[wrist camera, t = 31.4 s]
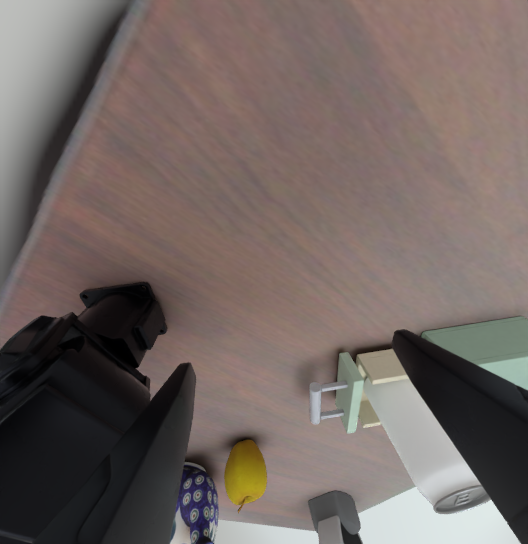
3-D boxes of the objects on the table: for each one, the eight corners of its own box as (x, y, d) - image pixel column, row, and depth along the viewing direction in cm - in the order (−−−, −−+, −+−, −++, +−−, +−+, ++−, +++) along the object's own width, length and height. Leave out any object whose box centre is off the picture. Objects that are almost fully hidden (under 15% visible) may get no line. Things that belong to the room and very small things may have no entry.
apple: (221, 451, 37) (217, 519, 30) (233, 430, 35) (232, 499, 27) (255, 454, 39) (259, 519, 32) (269, 434, 36) (276, 500, 29)
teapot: (178, 506, 45) (153, 646, 32) (107, 494, 40) (42, 656, 27) (254, 453, 38) (262, 603, 25) (182, 429, 33) (144, 605, 20)
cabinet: (404, 388, 34) (433, 427, 29) (422, 331, 28) (462, 367, 23) (488, 374, 35) (530, 410, 30) (521, 315, 29) (581, 347, 24)
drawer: (305, 408, 32) (313, 439, 29) (303, 358, 27) (313, 388, 24) (418, 389, 33) (440, 417, 30) (437, 337, 28) (466, 363, 24)
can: (405, 356, 28) (509, 477, 17) (408, 384, 31) (498, 502, 20) (357, 373, 28) (429, 500, 18) (365, 399, 31) (430, 521, 20)
